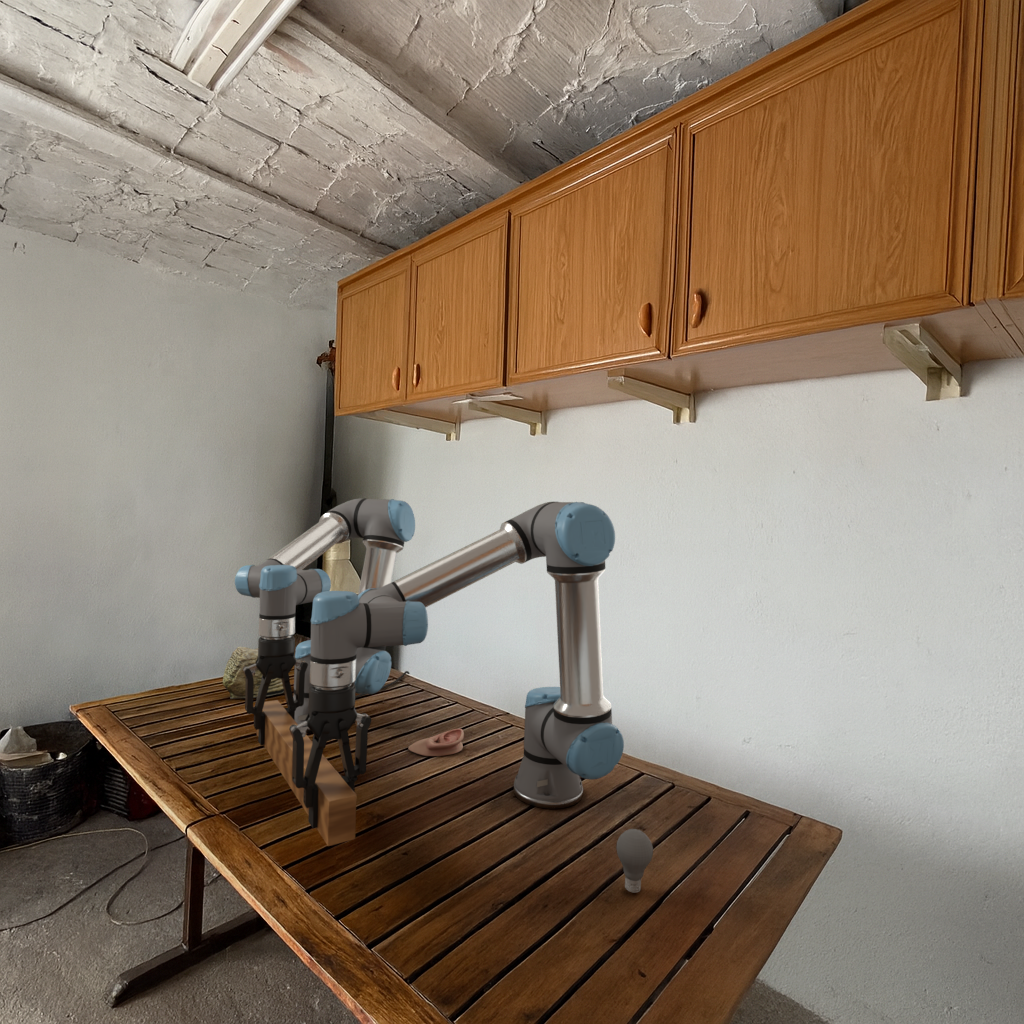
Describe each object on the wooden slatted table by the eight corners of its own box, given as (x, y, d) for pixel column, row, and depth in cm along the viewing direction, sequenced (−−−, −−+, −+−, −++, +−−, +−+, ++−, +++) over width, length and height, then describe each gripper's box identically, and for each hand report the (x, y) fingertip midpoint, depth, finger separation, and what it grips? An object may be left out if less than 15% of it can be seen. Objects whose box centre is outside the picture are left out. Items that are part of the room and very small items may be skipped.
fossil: (218, 695, 195) (220, 647, 195) (278, 685, 208) (279, 640, 207) (228, 703, 189) (230, 653, 188) (289, 692, 201) (290, 645, 201)
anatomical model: (404, 737, 158) (420, 722, 169) (403, 753, 158) (419, 736, 169) (455, 743, 155) (468, 727, 166) (454, 760, 155) (467, 742, 166)
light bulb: (610, 879, 108) (613, 822, 108) (644, 879, 109) (647, 822, 109) (619, 902, 102) (622, 840, 102) (655, 901, 103) (658, 840, 103)
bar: (256, 734, 144) (257, 702, 144) (276, 730, 147) (277, 699, 147) (327, 846, 100) (329, 801, 100) (355, 839, 103) (356, 794, 103)
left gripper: (236, 643, 131) (233, 754, 132) (321, 636, 141) (318, 739, 142) (230, 636, 138) (227, 742, 138) (312, 629, 147) (309, 728, 148)
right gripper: (284, 697, 99) (280, 845, 99) (390, 683, 108) (385, 817, 109) (273, 684, 105) (269, 823, 106) (374, 671, 115) (370, 799, 115)
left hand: (273, 740), depth 140 cm, fingers closed on bar, 5 cm apart
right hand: (328, 820), depth 107 cm, fingers closed on bar, 4 cm apart
